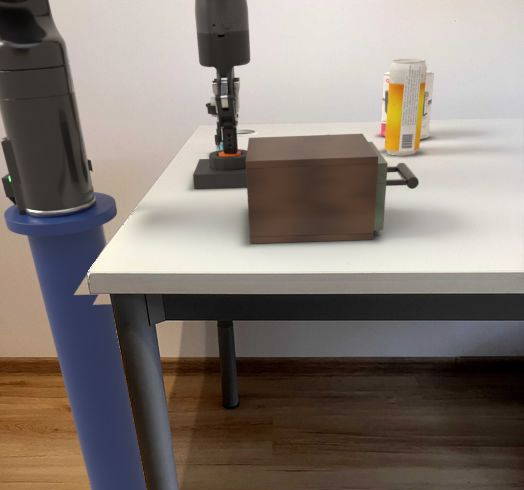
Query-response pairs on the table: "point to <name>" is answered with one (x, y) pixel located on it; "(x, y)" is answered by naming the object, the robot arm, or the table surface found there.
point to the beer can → (405, 106)
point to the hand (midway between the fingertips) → (230, 152)
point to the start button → (229, 154)
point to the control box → (221, 171)
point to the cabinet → (311, 188)
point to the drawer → (389, 184)
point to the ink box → (425, 106)
